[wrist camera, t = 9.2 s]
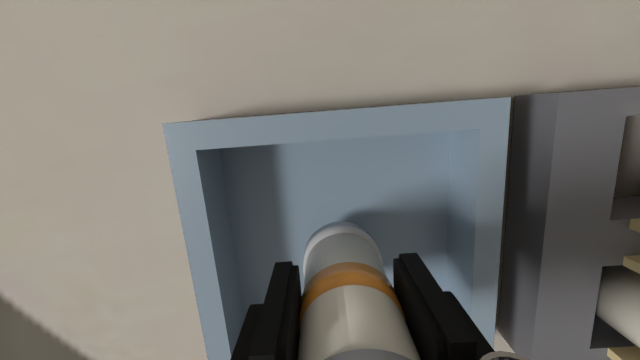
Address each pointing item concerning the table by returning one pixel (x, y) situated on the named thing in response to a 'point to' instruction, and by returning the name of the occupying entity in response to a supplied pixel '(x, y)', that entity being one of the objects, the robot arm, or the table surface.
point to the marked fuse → (349, 300)
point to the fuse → (620, 301)
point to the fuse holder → (566, 224)
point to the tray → (341, 198)
